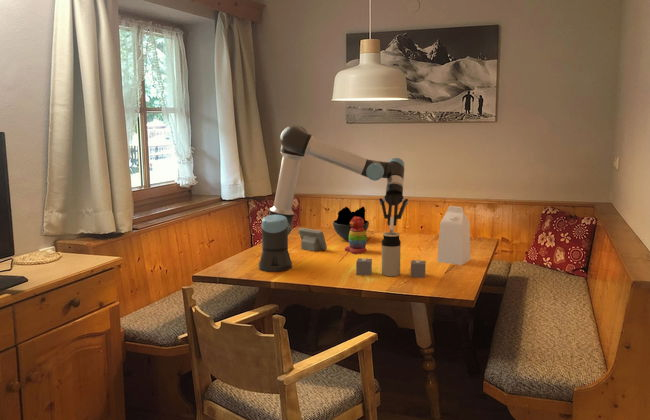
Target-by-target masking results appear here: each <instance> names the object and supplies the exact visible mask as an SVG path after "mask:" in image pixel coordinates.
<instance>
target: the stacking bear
mask: <svg viewBox="0 0 650 420" xmlns="http://www.w3.org/2000/svg"><path fill="white" fill-rule="evenodd" d="M350 225H351V227H352V228H351V229H350V232H349V240H348V245H349V246H345V248H344V251H345V252H350V253H351V254H353V255H357V254H358V255H359V254H364V253H366V252H367V247H366V246H367V242H368V237H367V236H368V235H367V231H365V229H364V228H363V225H364V220H363V219H362V218H361V217H356V216H354V218H353V219H352V220H351V221H350Z"/></svg>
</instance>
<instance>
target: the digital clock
mask: <svg viewBox="0 0 650 420" xmlns="http://www.w3.org/2000/svg"><path fill="white" fill-rule="evenodd" d="M298 234H299V236H300V240H301V242H300V245H301V246H300V248H301V250H303V249H304V250H303V251H309V252H318V251H326V250H327V249H328V248H327V247H328V246H327V243H326V238H325V234H324V232H323V230H317V229H311V228H303V227H299V229H298Z"/></svg>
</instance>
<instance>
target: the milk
mask: <svg viewBox="0 0 650 420" xmlns="http://www.w3.org/2000/svg"><path fill="white" fill-rule="evenodd" d="M470 229H471V223H470V220H469V217H467V215H466V214H465V212H464V209H463V207H462V206H456V205H455V206H453V205H449V206H448V208H447V210H446V212H445V214H444V215H443V216H442V219H441V220H440V224H439V234H438V244H437V245H438V246H437V258H436V259H437V260H436V263H442V264H443V263H444V264H451V265H459V266H462V265H464V264H466V263H469V261H471V230H470Z"/></svg>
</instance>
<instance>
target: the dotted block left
mask: <svg viewBox="0 0 650 420" xmlns="http://www.w3.org/2000/svg"><path fill="white" fill-rule="evenodd" d="M355 263H356V264H355V265H356V267H355V268H356V269H355V270H356V271H355V272H356V273H355V274H356V276H371V275H372V272H373V259H372V258H359V257H358V258H357V259H356V262H355Z"/></svg>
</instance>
